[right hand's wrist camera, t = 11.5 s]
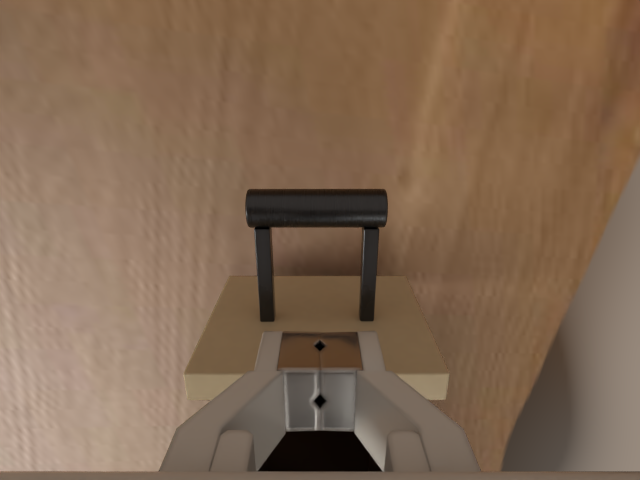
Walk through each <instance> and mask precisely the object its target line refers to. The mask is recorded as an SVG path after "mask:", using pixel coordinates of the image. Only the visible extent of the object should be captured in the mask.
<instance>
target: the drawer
mask: <svg viewBox="0 0 640 480" xmlns="http://www.w3.org/2000/svg"><path fill="white" fill-rule="evenodd" d="M245 210H246V220H247V224H248V226H249V227H255V229H254V234H255V249H256V265H257V276H229V278H228V280H227V282H226V284H225V286H224V289H223V291H222V293H221V295H220V297H219V299H218V301H217V303H216V306H215V308H214V310H213V312H212V314H211V316H210V318H209V320H208V323H207V325H206V327H205V329H204V331H203V333H202V335H201V337H200V340H199V342H198V344H197V346H196V348H195V350H194V352H193V354H192V357H191V359H190V361H189V363H188V365H187V367H186V369H185V371H184V374H183V376H184V382H185V389H186V395H187V400H213V399H214V398H215V397H216V396H218V395H219V394H220V393H221V392H223V391H224V390H225V389H226V388H228V387H229V386H230V385H231V384H233V383H234V382H235V381H236V380H238V379H239V378H240V377H241V376H242V375H244V374H245V373H246V372H247V371H254V368H255V364H256V359H257V355H258V351H259V346H260V342H261V338H262V334H263V332H264V331H282V332H283V331H304V332H357V331H376V332H377V334H378V338H379V343H380V347H381V351H382V355H383V359H384V364H385V368H386V371H393V372H394V373H395V374H396V375H398V376H399V377H400V378H401V379H402V380H404V381H405V382H406V383H407V384H409V385H410V386H411V387H412V388H414V389H415V390H416V391H417V392H419V393H420V394H421V395H422V396H423V397H425V398H426V399H427V400H445V399H446V396H447V390H448V383H449V376H450V373H449V371H448V369H447V366H446V364H445V362H444V360H443V357H442V355H441V353H440V351H439V349H438V346H437V344H436V342H435V340H434V337H433V335H432V333H431V331H430V329H429V326H428V324H427V322H426V320H425V317H424V315H423V313H422V311H421V309H420V306H419V304H418V302H417V300H416V298H415V295H414V293H413V291H412V289H411V286H410V284H409V282H408V280H407V278H406V276H377V259H378V241H379V228H378V227H385V225H386V222H387V213H388V201H387V193H386V190H385V189H249V190H248V191H247V194H246V204H245ZM271 227H362V247H361V272H360V276H274V270H273V250H272V229H271ZM258 471H295V472H383V471H382V470H381V469H380V467H379V466H378V465H377V463H376V462H375V460H374V459H373V458H372V456H371V455H370V454H369V452H368V451H367V450H366V448H365V447H364V445H363V444H362V443H361V441H360V440H359V439H358V437H357V436H356V435H355V433H354V431H286V434H285V435H284V436H283V438H282V439H281V440H280V442H279V443H278V445H277V446H276V447H275V449H274V450H273V451H272V453H271V454H270V455H269V457H268V458H267V459H266V461H265V462H264V463H263V465H262V466H261V467H260V469H259V470H258Z"/></svg>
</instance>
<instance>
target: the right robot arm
mask: <svg viewBox="0 0 640 480" xmlns="http://www.w3.org/2000/svg"><path fill="white" fill-rule="evenodd" d="M286 431H354V433H355V435H356V436H357V437H358V439H359V440H360V441H361V443H362V444H363V445H364V447H365V448H366V450H367V451H368V452H369V454H370V455H371V456H372V458H373V459H374V460H375V462H376V463H377V465H378V466H379V467H380V469H381V470H382V471H383V472H295V471H258V470H259V469H260V467H261V466H262V465H263V463H264V462H265V461H266V459H267V458H268V457H269V455H270V454H271V453H272V451H273V450H274V449H275V447H276V446H277V445H278V443H279V442H280V440H281V439H282V438H283V436H284V435H285V434H286ZM0 480H640V472H481V470H480V467H479V465H478V462H477V460H476V458H475V455H474V453H473V450H472V448H471V446H470V443H469V441H468V438H467V436H466V434H465V431H464V429H463V428H462V427H461V426H459V425H458V424H457V423H456V422H454V421H453V420H452V419H451V418H449V417H448V416H447V415H446V414H445V413H443V412H442V411H441V410H440V409H438V408H437V407H436V406H435V405H433V404H432V403H431V402H430V401H428V400H427V399H426V398H425V397H423V396H422V395H421V394H420V393H419V392H417V391H416V390H415V389H414V388H412V387H411V386H410V385H409V384H407V383H406V382H405V381H404V380H402V379H401V378H400V377H399V376H398V375H396V374H395V373H394V372H393V371H386V368H385V364H384V359H383V355H382V351H381V347H380V343H379V338H378V334H377V332H376V331H357V332H304V331H283V332H282V331H264V332H263V334H262V338H261V342H260V346H259V351H258V355H257V359H256V364H255V368H254V371H247V372H246V373H245V374H244V375H242V376H241V377H240V378H239V379H238V380H236V381H235V382H234V383H233V384H231V385H230V386H229V387H228V388H226V389H225V390H224V391H223V392H221V393H220V394H219V395H218V396H216V397H215V398H214V399H213V400H211V401H210V402H209V403H208V404H206V405H205V406H204V407H203V408H201V409H200V410H199V411H198V412H196V413H195V414H194V415H193V416H192V417H190V418H189V419H188V420H187V421H185V422H184V423H183V424H182V425H180V426H179V427H178V428H177V429H176V432H175V434H174V436H173V439H172V441H171V444H170V446H169V448H168V451H167V453H166V455H165V458H164V460H163V462H162V465H161V467H160V470H159V472H82V471H0Z"/></svg>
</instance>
